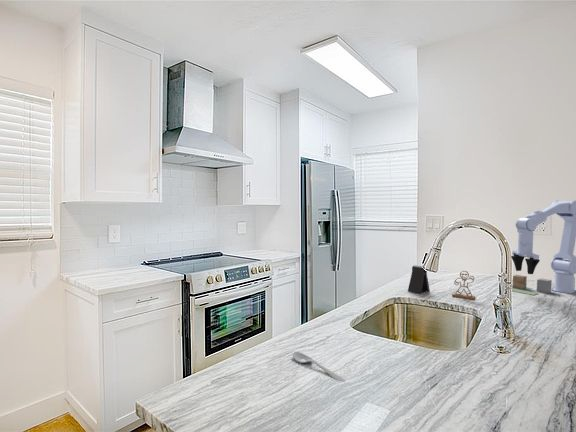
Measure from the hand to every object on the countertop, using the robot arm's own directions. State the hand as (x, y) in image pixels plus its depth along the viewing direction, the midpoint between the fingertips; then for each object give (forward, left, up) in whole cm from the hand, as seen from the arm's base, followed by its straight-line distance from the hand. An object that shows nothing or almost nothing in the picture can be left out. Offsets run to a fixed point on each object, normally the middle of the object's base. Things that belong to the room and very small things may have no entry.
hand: (524, 272), depth 168 cm
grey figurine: (+30, -13, -10) cm, 35 cm away
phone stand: (+37, -31, -10) cm, 50 cm away
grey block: (-13, +4, -10) cm, 17 cm away
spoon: (+129, +2, -11) cm, 130 cm away
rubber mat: (-3, -2, -10) cm, 11 cm away
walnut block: (-11, -6, -10) cm, 16 cm away
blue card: (-11, -6, -10) cm, 16 cm away
